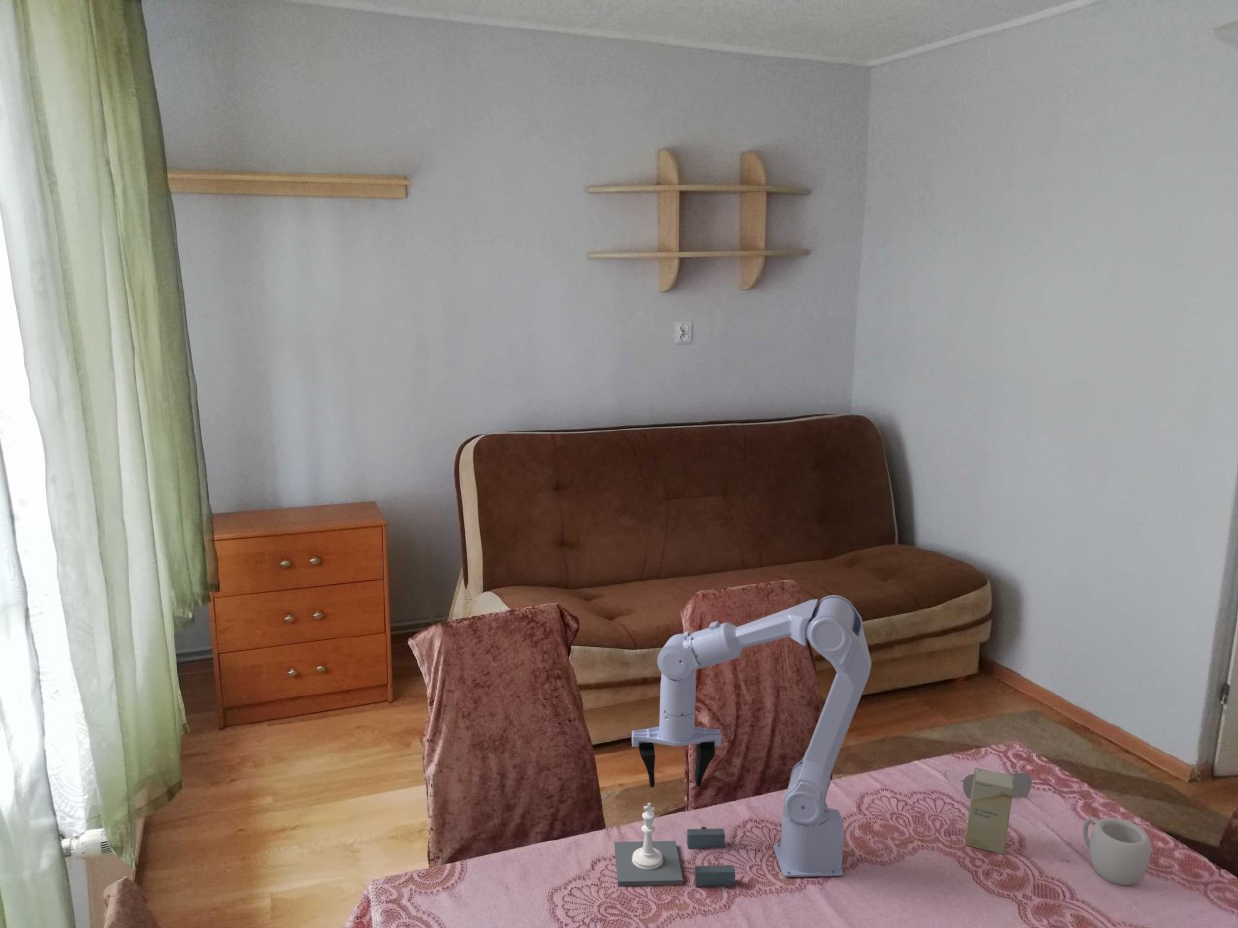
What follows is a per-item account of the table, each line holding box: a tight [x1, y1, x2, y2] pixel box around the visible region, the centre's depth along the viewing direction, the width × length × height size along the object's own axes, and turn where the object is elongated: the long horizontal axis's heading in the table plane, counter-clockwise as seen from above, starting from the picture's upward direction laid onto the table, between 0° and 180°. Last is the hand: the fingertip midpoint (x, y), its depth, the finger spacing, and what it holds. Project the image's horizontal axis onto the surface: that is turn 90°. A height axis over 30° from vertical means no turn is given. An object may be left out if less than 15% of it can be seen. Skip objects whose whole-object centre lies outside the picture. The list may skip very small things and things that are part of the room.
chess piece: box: [632, 802, 663, 870], centre depth 150 cm, size 5×5×10 cm
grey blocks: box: [686, 826, 736, 888], centre depth 152 cm, size 6×13×2 cm, turn 3°
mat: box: [614, 840, 684, 887], centre depth 151 cm, size 10×10×1 cm
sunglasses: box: [944, 768, 1035, 800], centre depth 175 cm, size 14×8×5 cm, turn 94°
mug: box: [1082, 816, 1152, 886], centre depth 151 cm, size 12×8×8 cm
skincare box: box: [965, 767, 1014, 855], centre depth 157 cm, size 6×4×12 cm
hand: (674, 783), depth 157 cm, fingers open, 7 cm apart
